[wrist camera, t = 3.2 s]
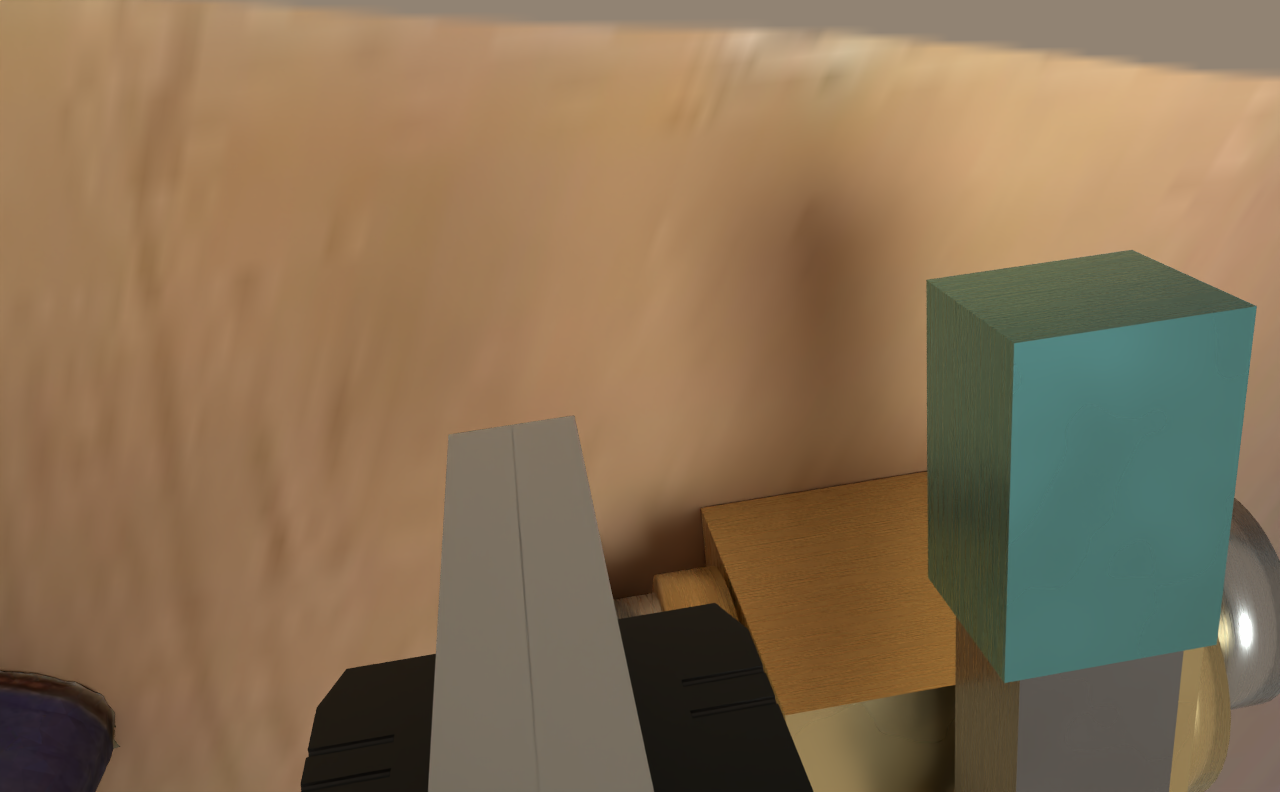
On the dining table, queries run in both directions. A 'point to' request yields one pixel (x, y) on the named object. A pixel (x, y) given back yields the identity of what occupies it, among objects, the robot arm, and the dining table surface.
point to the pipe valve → (922, 633)
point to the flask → (52, 735)
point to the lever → (1079, 509)
